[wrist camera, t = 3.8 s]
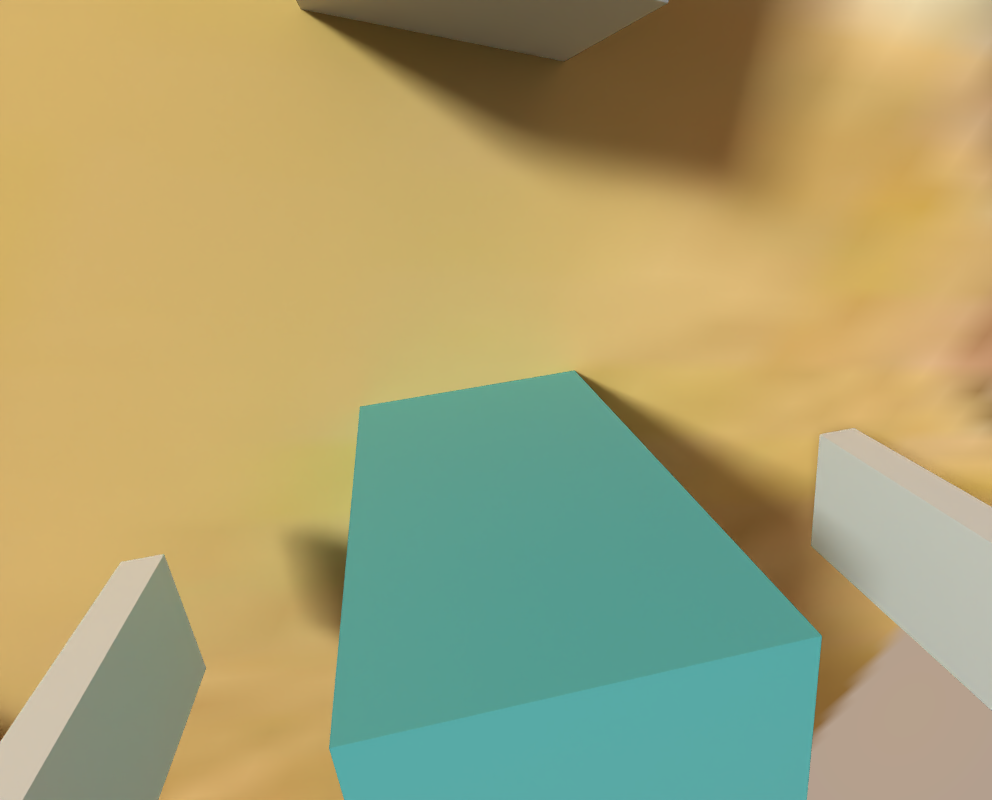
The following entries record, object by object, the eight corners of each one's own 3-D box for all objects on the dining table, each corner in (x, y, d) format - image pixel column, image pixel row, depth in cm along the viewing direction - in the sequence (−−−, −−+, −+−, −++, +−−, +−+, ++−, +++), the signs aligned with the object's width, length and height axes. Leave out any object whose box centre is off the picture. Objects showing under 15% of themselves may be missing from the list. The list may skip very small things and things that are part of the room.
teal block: (398, 587, 16) (416, 1044, 8) (360, 406, 14) (329, 748, 6) (587, 549, 17) (794, 935, 8) (574, 370, 15) (822, 636, 6)
